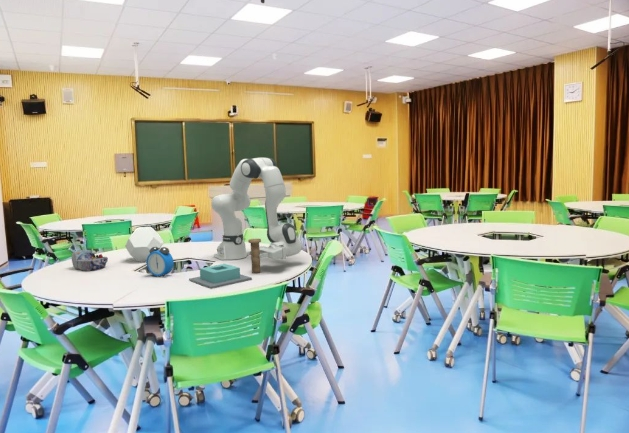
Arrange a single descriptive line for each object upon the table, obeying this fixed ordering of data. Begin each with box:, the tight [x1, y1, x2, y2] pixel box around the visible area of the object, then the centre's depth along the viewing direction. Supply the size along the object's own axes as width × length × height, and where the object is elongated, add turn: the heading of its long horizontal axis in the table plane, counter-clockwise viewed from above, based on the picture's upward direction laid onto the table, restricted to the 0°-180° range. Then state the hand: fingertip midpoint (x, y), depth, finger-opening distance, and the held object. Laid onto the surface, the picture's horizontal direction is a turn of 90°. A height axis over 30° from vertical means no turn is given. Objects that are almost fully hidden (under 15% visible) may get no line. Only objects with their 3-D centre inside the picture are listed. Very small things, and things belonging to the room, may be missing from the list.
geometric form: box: [124, 226, 165, 263], centre depth 276 cm, size 20×20×20 cm
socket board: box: [188, 263, 253, 290], centre depth 221 cm, size 22×22×6 cm
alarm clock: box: [146, 246, 175, 278], centre depth 235 cm, size 13×6×15 cm, turn 67°
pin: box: [248, 238, 262, 274], centre depth 234 cm, size 6×6×17 cm
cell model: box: [71, 249, 109, 272], centre depth 258 cm, size 13×11×20 cm
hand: (254, 254), depth 233 cm, fingers open, 8 cm apart
